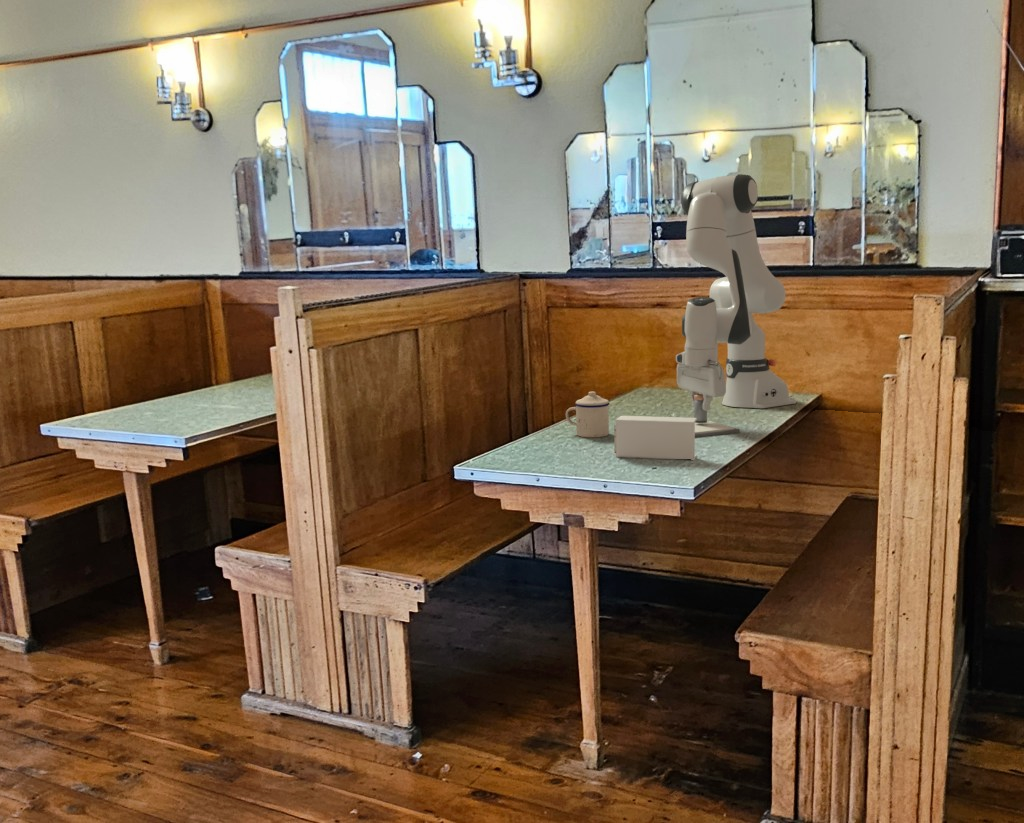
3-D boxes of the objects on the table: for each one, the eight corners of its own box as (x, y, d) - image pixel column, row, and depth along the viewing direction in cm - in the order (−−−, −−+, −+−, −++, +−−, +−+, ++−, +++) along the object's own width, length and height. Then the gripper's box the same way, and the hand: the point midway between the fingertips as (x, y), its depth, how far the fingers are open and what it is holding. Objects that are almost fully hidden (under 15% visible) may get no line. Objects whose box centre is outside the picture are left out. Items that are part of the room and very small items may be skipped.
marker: (703, 420, 288) (703, 393, 286) (709, 422, 284) (709, 395, 283) (691, 421, 286) (691, 394, 285) (698, 423, 283) (698, 396, 282)
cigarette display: (697, 456, 252) (697, 417, 251) (693, 461, 247) (693, 422, 245) (616, 452, 259) (615, 415, 257) (611, 457, 254) (610, 419, 252)
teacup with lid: (613, 432, 284) (613, 389, 282) (604, 438, 276) (604, 395, 274) (571, 430, 288) (570, 388, 286) (561, 436, 280) (560, 393, 278)
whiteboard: (712, 423, 292) (712, 420, 291) (739, 432, 279) (739, 428, 278) (631, 432, 283) (631, 428, 283) (655, 441, 270) (655, 437, 270)
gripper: (732, 361, 274) (731, 413, 276) (692, 353, 293) (692, 402, 295) (711, 363, 272) (710, 415, 274) (672, 355, 291) (672, 404, 293)
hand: (700, 408), depth 285 cm, fingers closed on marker, 3 cm apart
